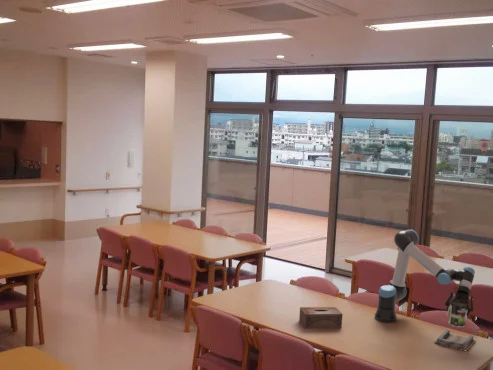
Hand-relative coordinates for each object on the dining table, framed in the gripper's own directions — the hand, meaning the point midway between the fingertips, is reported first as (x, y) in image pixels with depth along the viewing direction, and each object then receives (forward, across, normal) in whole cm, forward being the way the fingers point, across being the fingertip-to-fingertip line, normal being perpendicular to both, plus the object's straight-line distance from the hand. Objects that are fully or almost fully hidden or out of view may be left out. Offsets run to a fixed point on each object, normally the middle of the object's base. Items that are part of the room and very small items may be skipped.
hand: (456, 317), depth 344 cm
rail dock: (+10, 0, -14) cm, 17 cm away
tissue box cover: (+32, +82, +7) cm, 88 cm away
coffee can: (+2, 0, -6) cm, 6 cm away
